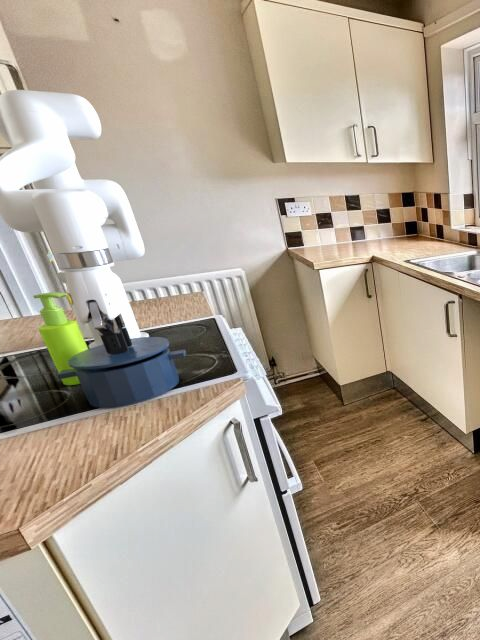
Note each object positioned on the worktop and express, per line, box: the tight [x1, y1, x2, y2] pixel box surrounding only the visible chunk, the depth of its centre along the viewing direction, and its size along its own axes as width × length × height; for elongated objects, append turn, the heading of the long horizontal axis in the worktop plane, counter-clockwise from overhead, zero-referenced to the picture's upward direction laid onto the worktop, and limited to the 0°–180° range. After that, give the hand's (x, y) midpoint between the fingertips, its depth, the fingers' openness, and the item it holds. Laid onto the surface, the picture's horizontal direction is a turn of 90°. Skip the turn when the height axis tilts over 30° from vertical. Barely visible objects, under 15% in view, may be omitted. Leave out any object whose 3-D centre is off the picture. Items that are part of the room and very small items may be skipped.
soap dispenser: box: [33, 291, 89, 386], centre depth 92 cm, size 6×7×20 cm
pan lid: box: [68, 328, 170, 369], centre depth 86 cm, size 16×16×6 cm
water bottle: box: [46, 250, 94, 339], centre depth 121 cm, size 8×9×25 cm
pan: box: [57, 347, 187, 409], centre depth 88 cm, size 15×20×8 cm
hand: (120, 349), depth 86 cm, fingers closed on pan lid, 2 cm apart
